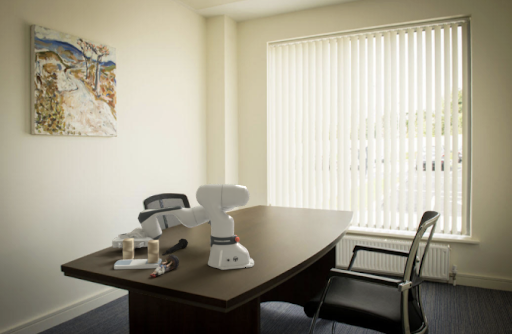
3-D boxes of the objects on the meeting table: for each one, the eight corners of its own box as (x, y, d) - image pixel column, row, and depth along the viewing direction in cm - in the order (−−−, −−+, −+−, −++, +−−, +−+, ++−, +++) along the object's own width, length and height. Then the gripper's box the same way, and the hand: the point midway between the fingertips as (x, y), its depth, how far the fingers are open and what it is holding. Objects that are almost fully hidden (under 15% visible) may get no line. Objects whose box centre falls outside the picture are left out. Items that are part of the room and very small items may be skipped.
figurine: (180, 252, 175) (152, 266, 160) (184, 265, 175) (156, 281, 160) (169, 253, 179) (140, 268, 164) (173, 266, 179) (144, 282, 164)
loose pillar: (134, 257, 191) (133, 238, 191) (132, 260, 187) (132, 240, 186) (124, 257, 191) (124, 238, 190) (122, 260, 186) (122, 240, 186)
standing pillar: (158, 260, 182) (158, 239, 181) (157, 263, 177) (157, 242, 177) (149, 260, 181) (149, 240, 181) (147, 263, 177) (147, 242, 176)
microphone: (165, 261, 195) (188, 248, 213) (167, 252, 193) (190, 239, 211) (157, 257, 197) (181, 244, 215) (159, 248, 195) (183, 235, 213)
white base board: (162, 261, 185) (162, 258, 185) (159, 268, 175) (159, 264, 175) (118, 262, 182) (118, 259, 182) (113, 269, 172) (112, 266, 172)
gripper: (154, 244, 208) (150, 251, 195) (116, 245, 206) (109, 252, 192) (154, 233, 208) (150, 239, 194) (116, 234, 206) (109, 240, 192)
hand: (129, 246), depth 193 cm, fingers open, 8 cm apart
